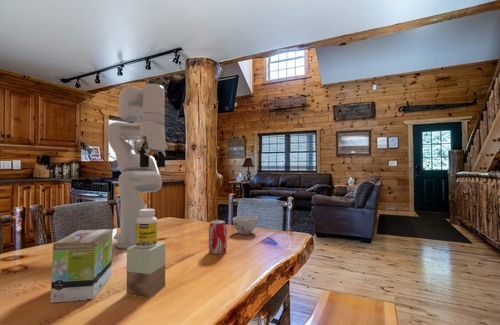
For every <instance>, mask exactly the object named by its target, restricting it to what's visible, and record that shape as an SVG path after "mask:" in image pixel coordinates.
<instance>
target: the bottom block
mask: <svg viewBox="0 0 500 325" xmlns="http://www.w3.org/2000/svg"><path fill="white" fill-rule="evenodd" d="M165 287H166V264H165V265H164V266H162V267H161V268H159V269H157V270H156V271H154V272H153V273H151V274H144V273H135V272H127V271H126V295H127V294H129V295H128V296H133V295H136V296H135V297H140V296H143V297H142V298H147V297H149V298H148V299H150V298H151V296H152V297H153V296H154V295H156V294H157V293H158V292H160V291H161V290H162V289H163V288H165ZM155 293H156V294H155Z"/></svg>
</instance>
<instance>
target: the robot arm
mask: <svg viewBox="0 0 500 325" xmlns="http://www.w3.org/2000/svg"><path fill="white" fill-rule="evenodd" d="M165 93H166V92H165V88H164V86H162V85H160V84H157V83H146V84H144V85H143V86H142V88H141V87H137V86H125V87H123V89H121V91H120V92H119V94H118V106H119V107H118V110H117V114H118V117H120V119H122V120H123V121H124V122H123V121H117V122H112V123H110V124H108V126H107V128H106V135H107V136H106V137H107V141H108V144H109V145H110V147H111V149H112V150H113V151H114V154H115V158H116V163H117V166H118V170H119V171H120V173H121V174H119V177H118V179H117V180H118V188H119V198H120V221H119V222H120V227H119V228H120V230H119V231H120V233H115V235H114V236H113V240H117V242H116V243H115V246H116V248H118V249H122V250H123V249H124V250H127V248H129V247H132V246H134V245H136V220H137V219H138V218H139V217H140V215H139V210H141V209H146V207H145V206H146V205H145V201H144V199H143V198H142V197H141V195H140V194H142V193H143V194H144V193H155V192H157V191H159V190H161V188H162V185H163V181H162V179H163V178H162V176H161V172H160V170H159V168H165V167H166V157H167V153H168V148H169V146H168V144H167V143H166V129H165V97H166V96H165V95H166V94H165ZM125 121H126V122H125ZM128 141H133V142H134V141H135V145H136V149H137V150H136V151H137V152H138V153H136V151H135V147H134V146H132V144H130V143H129V142H128ZM150 152H156V154H157V156H156V159H155V157H154V156H153V155H150V154H149V153H150Z"/></svg>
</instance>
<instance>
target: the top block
mask: <svg viewBox="0 0 500 325" xmlns="http://www.w3.org/2000/svg"><path fill="white" fill-rule="evenodd" d="M164 265H165V266H166V242H158V241H157V244H156V245H155V246H154V247H150V248H138V247H136V245H134V246H132V247H129V248H127V249H126V273H127V272H135V273H144V274H151V273H153V272H154V271H156V270H157V269H159V268H161V267H162V266H164Z"/></svg>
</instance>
